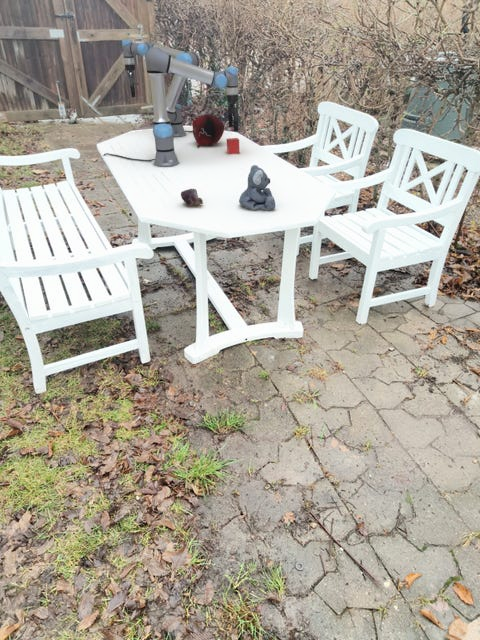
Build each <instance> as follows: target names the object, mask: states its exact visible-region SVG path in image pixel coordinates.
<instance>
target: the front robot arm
mask: <svg viewBox="0 0 480 640" xmlns="http://www.w3.org/2000/svg"><path fill="white" fill-rule="evenodd" d="M144 61H145V67H146V74H147V75H148V76H149V79H150V80H149V81H150V89H151V90H150V91H151V97H152V99H151V100H152V108H153V119H152V121H151V122H152V134H153V137H154V145H155V155H154V158H153V159H139V158H132V157H126V156H124V155H119V154H115V153H114V154H112V153H109V152H106V153H103V155H102V156H103V157H104V156H106V155H109V156H114V157H118V158H123V159H127V160H132V161H142V162H152V161H154V165H155V166H157V167H163V168H164V167H165V168H167V167H168V168H169V167H174V166H177V165H178V164H179V159H178V157H177V153H176V151H175V143H174V137H173V129H172V126H171V123H170V119H169V118H168V116H167V105H166V96H167V93H166V84H165V75H166V74H169V73H172V74H174V75H175V74H178V75H181V76H184V77H187V78H186V79H191V80H193V81H198V82H200V83H204V84H207V85H209V86H213V87H216V88H218V89H224V88H225V87H226V94H227V95H226V101H227V102H228V105H227V116H228V128H233V132H238V131H239V120H240V118H239V110H238V103H236V102H238V101H239V90H240V89H239V71H238V68H237V67H236V66H227V67H226V68H225V70H222V71H213V70H211V69H208V68H204V67H201V66H200V65H199V66H195V65H192V64H189V63H186V62H183V61H180V60H177V59H174V58H173V57H172V56H171V55H168V54H166V53H164V52H162V50H161V49H159V48H157V47H151V48H149V49H148V50H147V51H146V53H145V55H144Z"/></svg>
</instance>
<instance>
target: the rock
mask: <svg viewBox="0 0 480 640" xmlns="http://www.w3.org/2000/svg"><path fill="white" fill-rule="evenodd" d="M180 197H181V200H182V201H183V202H184V203H185V205H187V206H189V207H191V206H192V207H193V206H201V205H203V204H204V202H203V199H202V197H199V195H198V190H197V189H196V188H188V189H185V190H181V192H180Z"/></svg>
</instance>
